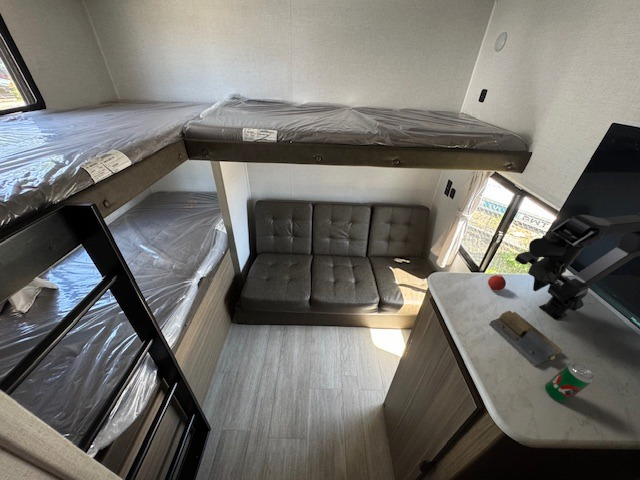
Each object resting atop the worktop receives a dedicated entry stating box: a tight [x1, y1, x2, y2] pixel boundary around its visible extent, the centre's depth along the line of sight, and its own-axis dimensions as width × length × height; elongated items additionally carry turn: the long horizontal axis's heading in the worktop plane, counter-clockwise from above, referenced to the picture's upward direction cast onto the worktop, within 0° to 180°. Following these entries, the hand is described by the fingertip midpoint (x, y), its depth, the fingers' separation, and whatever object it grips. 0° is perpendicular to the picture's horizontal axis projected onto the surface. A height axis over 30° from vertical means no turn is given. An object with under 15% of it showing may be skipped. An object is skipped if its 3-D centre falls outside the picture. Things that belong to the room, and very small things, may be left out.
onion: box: [487, 273, 507, 291], centre depth 101 cm, size 6×6×8 cm
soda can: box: [544, 362, 595, 403], centre depth 67 cm, size 5×5×12 cm
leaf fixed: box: [488, 318, 558, 367], centre depth 82 cm, size 7×17×4 cm, turn 22°
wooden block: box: [499, 310, 564, 357], centre depth 84 cm, size 8×16×4 cm, turn 22°
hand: (534, 290), depth 86 cm, fingers closed
